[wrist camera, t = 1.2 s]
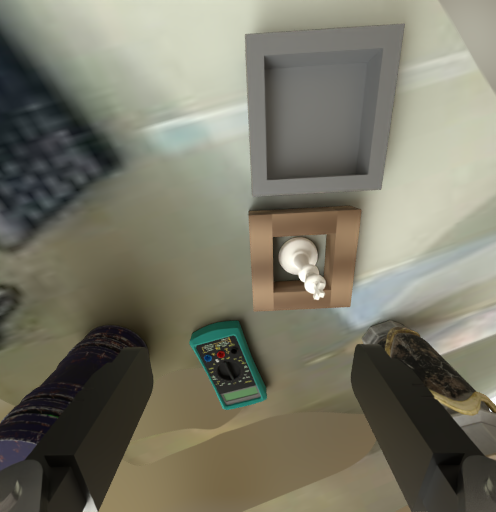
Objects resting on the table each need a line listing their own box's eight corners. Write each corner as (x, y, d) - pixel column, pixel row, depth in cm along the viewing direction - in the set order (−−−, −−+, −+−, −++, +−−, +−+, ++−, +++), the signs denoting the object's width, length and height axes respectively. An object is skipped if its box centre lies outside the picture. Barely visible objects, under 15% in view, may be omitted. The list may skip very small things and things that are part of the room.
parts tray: (245, 54, 22) (245, 34, 19) (381, 45, 22) (404, 23, 19) (251, 193, 27) (252, 196, 23) (364, 187, 26) (381, 189, 23)
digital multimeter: (237, 314, 33) (236, 327, 30) (266, 387, 38) (268, 404, 35) (190, 327, 34) (185, 341, 31) (225, 397, 38) (223, 414, 36)
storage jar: (114, 385, 37) (33, 516, 23) (68, 343, 34) (-58, 464, 20) (163, 359, 35) (107, 485, 21) (118, 313, 32) (19, 422, 18)
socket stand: (248, 211, 27) (248, 215, 24) (349, 205, 27) (361, 209, 24) (253, 298, 31) (253, 311, 29) (340, 294, 31) (350, 306, 28)
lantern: (415, 352, 35) (768, 729, 11) (363, 368, 36) (585, 743, 12) (406, 307, 32) (846, 681, 8) (349, 326, 33) (602, 706, 10)
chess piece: (322, 242, 29) (359, 276, 19) (309, 276, 30) (337, 323, 21) (284, 233, 28) (303, 263, 19) (273, 268, 30) (286, 313, 20)
